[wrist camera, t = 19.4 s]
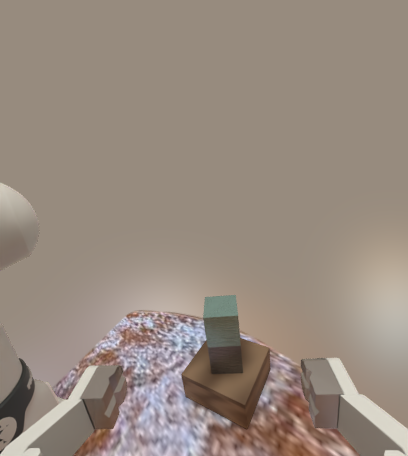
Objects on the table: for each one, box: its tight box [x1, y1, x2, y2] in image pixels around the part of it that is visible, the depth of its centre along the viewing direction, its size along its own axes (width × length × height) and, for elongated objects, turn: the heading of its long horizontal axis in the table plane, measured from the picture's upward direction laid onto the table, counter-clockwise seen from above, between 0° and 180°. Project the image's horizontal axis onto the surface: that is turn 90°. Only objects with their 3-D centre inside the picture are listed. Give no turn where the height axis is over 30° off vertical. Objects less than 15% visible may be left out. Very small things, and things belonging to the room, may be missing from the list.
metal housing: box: [203, 295, 243, 374], centre depth 39 cm, size 5×5×11 cm
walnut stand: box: [181, 338, 270, 429], centre depth 42 cm, size 11×11×5 cm
